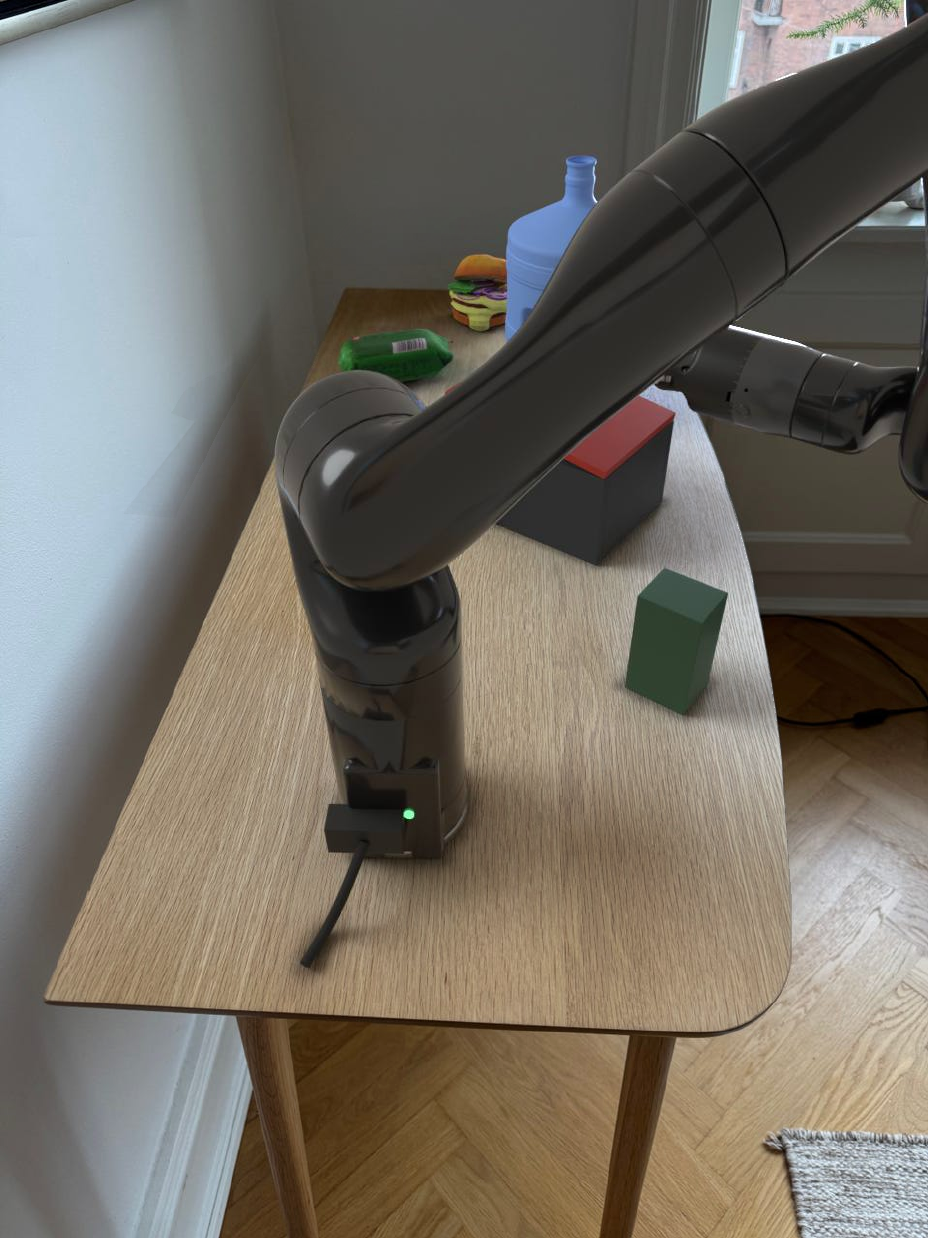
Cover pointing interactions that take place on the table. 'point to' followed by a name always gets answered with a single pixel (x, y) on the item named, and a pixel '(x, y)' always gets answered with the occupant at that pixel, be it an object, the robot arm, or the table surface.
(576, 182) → the water jug
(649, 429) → the lunchbox lid
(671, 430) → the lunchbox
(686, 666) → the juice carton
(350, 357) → the snack package
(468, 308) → the cheeseburger
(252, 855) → the table surface
